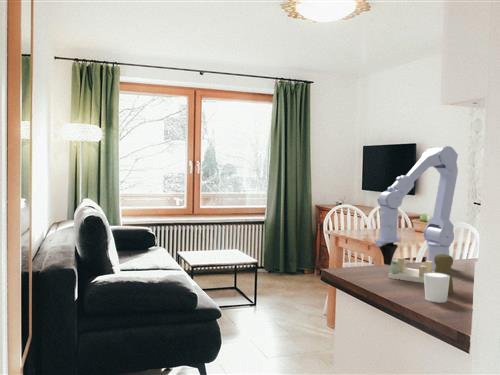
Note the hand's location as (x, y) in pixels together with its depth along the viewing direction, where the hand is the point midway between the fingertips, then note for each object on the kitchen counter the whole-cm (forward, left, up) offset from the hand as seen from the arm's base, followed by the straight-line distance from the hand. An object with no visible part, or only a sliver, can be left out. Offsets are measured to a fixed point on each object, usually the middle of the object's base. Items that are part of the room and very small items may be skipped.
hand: (387, 264), depth 158 cm
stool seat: (+2, +9, -3) cm, 9 cm away
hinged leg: (+3, +3, -1) cm, 5 cm away
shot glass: (+25, +21, -3) cm, 32 cm away
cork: (+15, +21, -3) cm, 26 cm away
